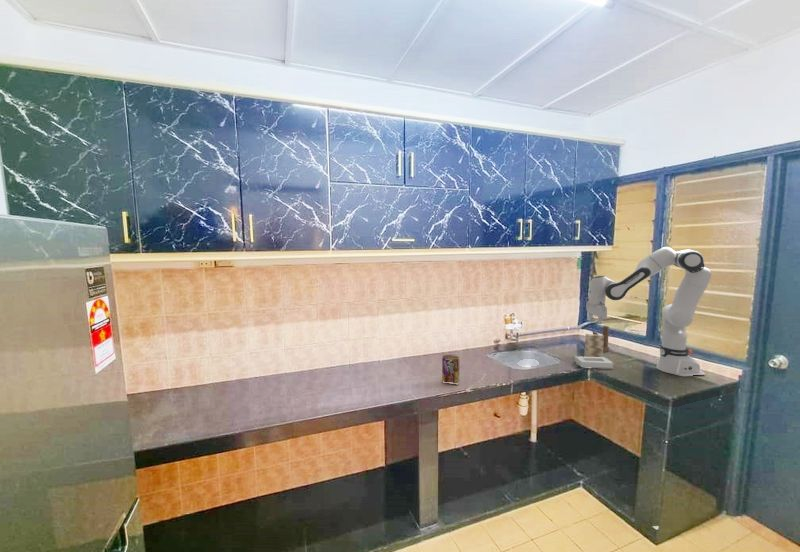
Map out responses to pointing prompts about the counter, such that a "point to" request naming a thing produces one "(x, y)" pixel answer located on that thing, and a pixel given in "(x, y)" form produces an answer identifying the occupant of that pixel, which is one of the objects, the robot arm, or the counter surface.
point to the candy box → (450, 368)
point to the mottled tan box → (594, 345)
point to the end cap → (594, 362)
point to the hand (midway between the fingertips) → (595, 321)
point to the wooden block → (605, 338)
